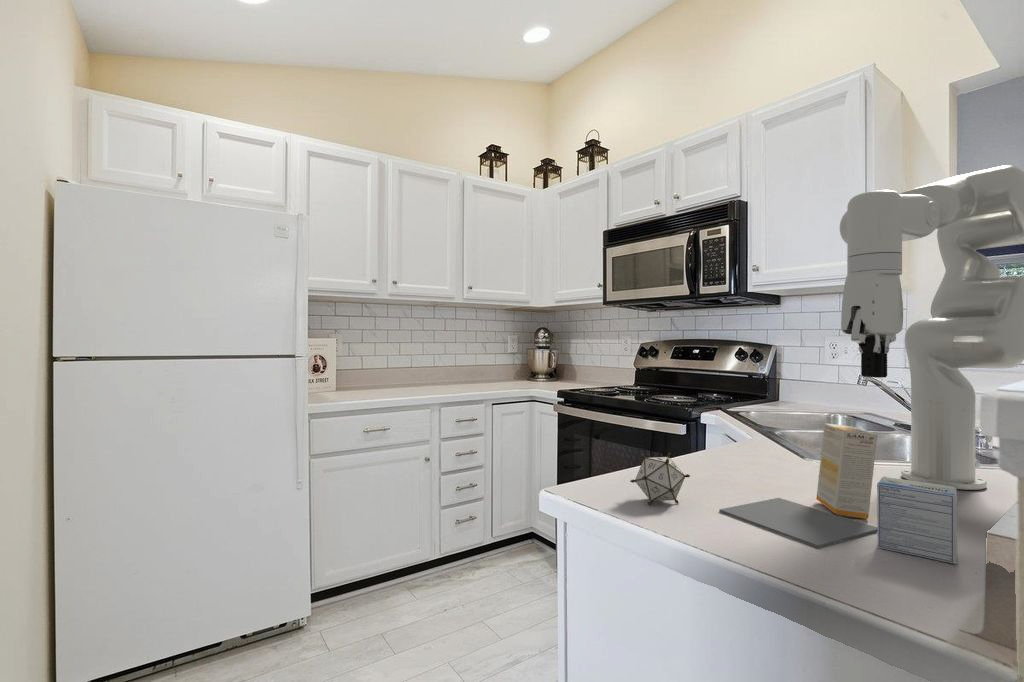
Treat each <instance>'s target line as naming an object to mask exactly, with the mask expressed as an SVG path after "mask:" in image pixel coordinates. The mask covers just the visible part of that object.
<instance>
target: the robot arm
mask: <svg viewBox="0 0 1024 682" xmlns="http://www.w3.org/2000/svg"><path fill="white" fill-rule="evenodd" d="M936 230H937V233H936V237H937V239H936V240H937V245H938V250H939V253H940V256H941V259H942V263H943V265H944V267H945V269H944V270H945V272H944V275H943V278H942V280H941V282H940V284H939V286H938V289H937V290H936V292H935V295H934V297H933V299H932V302H931V305H930V315H931V317H932V318H924V319H921V320H917V321H915V322H913V323H912V324H911V325H910V326H909V327H908V328H907V329H906V331H905V334H904V335H905V336H904V346H905V350H906V356H907V359H908V367H909V372H910V406H911V407H910V466H911V467H908V468H907V467H906V468H903V469H902V470H901V473H900V475H901V477H902V478H903V479H904V480H911V481H918V482H925V483H932V484H939V485H945V486H953V487H955V488H956V489H957V490H964V491H968V490H969V491H975V490H984V489H986V488H987V484H988V483H987V480H986V479H984V478H983V477H979V476H977V475H976V469H977V468H980V466H981V461H980V460H979V459H977V458H976V391H975V389H974V387H973V385H972V383H971V382H970V381H969V380H968V378H967V377H966V376H964V374H963V373H962V372H961V371H960V370H959V369H968V368H969V369H991V370H993V369H999V370H1001V369H1002V370H1003V369H1004V370H1005V369H1012V368H1015V367H1017V366H1019V365H1020V364H1022V363H1023V361H1024V276H1017V275H1016V276H1013V275H1012V276H1000V275H1001V271H1000V268H999V267H998V265H997V264H995V262H993V260H991V259H990V258H989V257H987V256H985V255H984V254H982V253H981V252H979V251H977V250H983V249H991V248H999V247H1001V248H1002V247H1007V246H1008V247H1009V246H1016V245H1023V244H1024V170H1022V169H1021V168H1019V167H1017V166H1014V165H1007V164H1006V165H1001V166H996V167H991V168H988V169H982V170H978V171H973V172H970V173H965V174H960V175H955V176H952V177H948V178H945V179H942V180H939V181H936V182H932V183H928V184H926V185H922V186H918V187H915V188H912V189H909V190H905V191H902V192H898V191H896V190H890V189H881V190H871V191H866V192H861V193H859V194H856V195H855V196H853V197H851V198H850V200H849V201H848V203H847V211H846V212H844V214H843V215H842V218H841V219H840V222H839V234H840V236H841V239H842V240H843V242H844V243H845V244H847V248H846V249H847V256H846V257H847V258H846V259H847V260H846V261H847V265H846V267H847V270H846V273H847V275H846V277H845V281H844V285H843V290H842V291H843V292H842V300H841V301H842V302H841V313H840V314H841V315H840V316H841V317H840V320H841V321H840V328H841V332H842V333H844V334H845V335H850V339H851V340H850V341H852V342H855V343H857V344H858V350H859V353H860V364H861V366H860V371H861V372H860V375H861V376H862V378H863V377H864V378H879V379H880V378H887V376H888V353H889V352H890V345H891V343H893V342H895V341H896V340H897V335H898V334H899V333H901V332H902V330H903V327H904V303H903V291H902V283H901V276H902V275H903V242H907V241H908V242H909V241H913V240H918V239H922V238H925V237H927V236H929V235H931V234H932V233H933V232H935V231H936Z"/></svg>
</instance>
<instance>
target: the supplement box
mask: <svg viewBox="0 0 1024 682" xmlns="http://www.w3.org/2000/svg"><path fill="white" fill-rule="evenodd" d="M822 434H823V435H822V444H821V450H820V451H821V453H820V464H819V471H818V481H817V491H816V498H815V499H816V500H817V501H818V502H819V503H821V504H822V505H824V506H825V507H826V508H827V509H828V510H831V512H833V514H835V515H838V516H842V517H850V518H858V519H865V520H868V519H869V515H870V513H869V512H870V506H871V505H870V504H871V497H872V489H873V488H872V487H873V477H874V468H875V461H876V452H877V450H876V449H877V441H878V434H877V433H874V432H871V431H868V430H865V429H862V428H859V427H856V426H851V425H844V424H835V423H824V424H823V433H822Z"/></svg>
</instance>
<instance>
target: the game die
mask: <svg viewBox="0 0 1024 682" xmlns="http://www.w3.org/2000/svg"><path fill="white" fill-rule="evenodd" d="M640 455H641V457H642V459H643V460H642V463H641V465H640V467H639V470H638V472H637V475H636V477H635V479H631V480H630V481H629V482H630V483H632V484H633V483H636V485H637V486H638V487H639V488H640V489H641V491H642V492H643V493H644V494H645V496H646V497H647V499H648V500H649V501H648V503H647V504H648V506H651V505H652V504H653V503H652V502H659V501H660V502H662V501H663V502H664V501H674V503H675V504H677V505H680V504H679V500H678V499H677V497H678V495H679V492H680V490H681V489H682V486H683V482H684V480H685V479H686V478H690V477H691V475H690V474H688V473H687V474H684V472H682V470H681V469H680V468H679V467H678V465H676V463H674V461H673V460H672V459H671V458H670V457H671V455H672V454H671V452H668V453H667V454H666V456H652V457H647V456H646V455H645V454H644V453H641V454H640Z"/></svg>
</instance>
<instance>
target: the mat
mask: <svg viewBox="0 0 1024 682" xmlns="http://www.w3.org/2000/svg"><path fill="white" fill-rule="evenodd" d="M718 512H719V513H722V514H723V515H727V516H730V517H732V518H734V519H738V520H740V521H743V522H746V523H748V524H752V525H754V526H755V527H756V526H757V527H759V528H762V529H765V530H767V531H770V532H773V533H775V534H778V535H781V536H784V537H786V538H788V539H791V540H794V541H797V542H799V543H803V544H804V545H805V544H806V545H807V546H811V547H812V548H816V549H821V548H825V547H828V546H831V545H835V544H839V543H842V542H845V541H851V540H853V539H854V540H855V539H857V538H860V537H864V536H868V535H872V534H875V533H878V526H874V525H871V524H868V523H865V522H864V523H863V522H860V521H857V520H854V519H850V518H847V517H846V516H842V515H838V514H835V513H831V512H828V511H824V510H820V509H817V508H815V507H814V508H813V507H810V506H808V505H805V504H801V503H798V502H794V501H791V500H788V499H784V498H781V497H776V498H771V499H766V500H760V501H756V502H751V503H750V502H749V503H745V504H739V505H735V506H729V507H725V508H720V509H719V511H718Z"/></svg>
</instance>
